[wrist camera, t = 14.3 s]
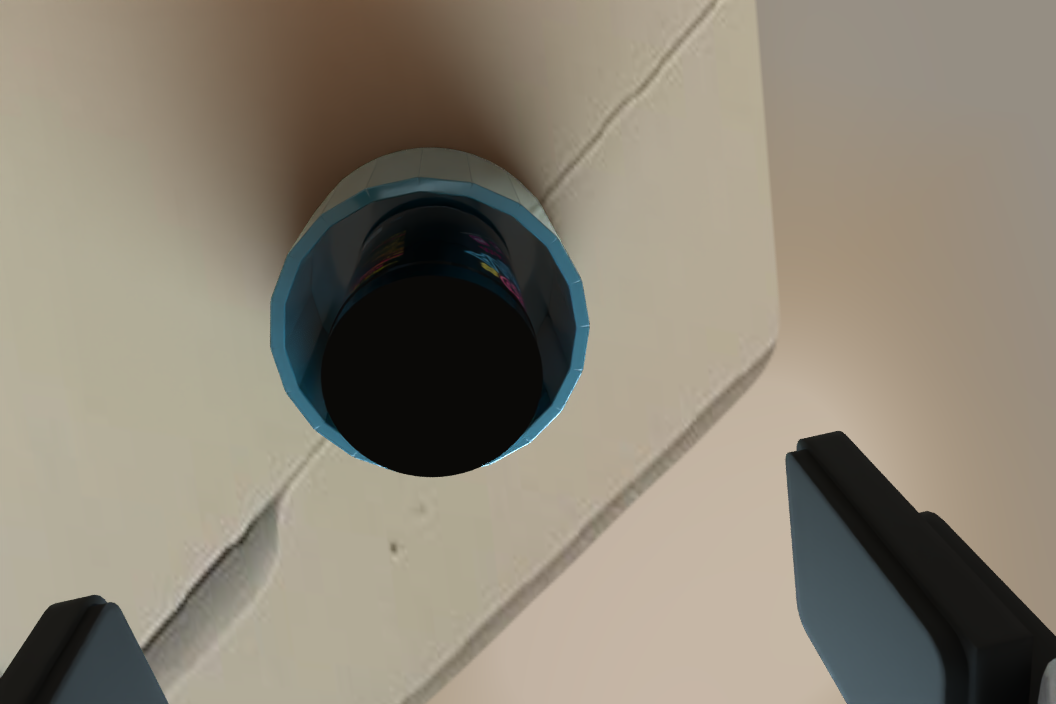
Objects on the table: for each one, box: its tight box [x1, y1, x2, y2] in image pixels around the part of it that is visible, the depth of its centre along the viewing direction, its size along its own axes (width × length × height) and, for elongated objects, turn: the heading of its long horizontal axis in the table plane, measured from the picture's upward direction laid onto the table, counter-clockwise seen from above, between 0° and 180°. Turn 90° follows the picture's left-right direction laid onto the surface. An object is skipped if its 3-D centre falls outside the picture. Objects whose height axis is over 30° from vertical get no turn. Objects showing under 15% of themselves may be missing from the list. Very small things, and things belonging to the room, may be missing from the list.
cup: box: [270, 148, 590, 472], centre depth 32 cm, size 11×11×7 cm
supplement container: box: [321, 205, 543, 477], centre depth 30 cm, size 7×7×10 cm
